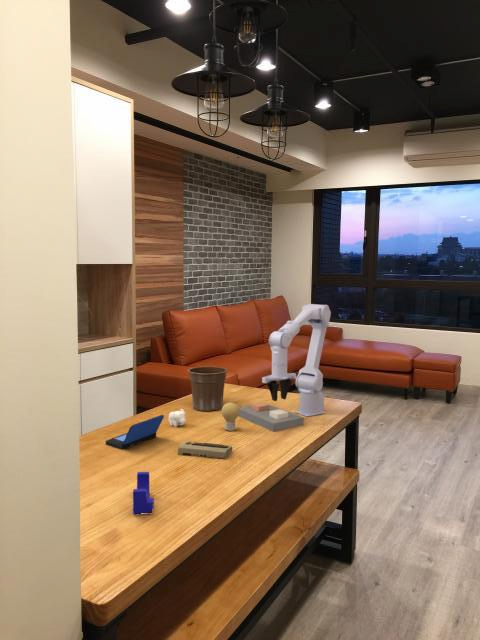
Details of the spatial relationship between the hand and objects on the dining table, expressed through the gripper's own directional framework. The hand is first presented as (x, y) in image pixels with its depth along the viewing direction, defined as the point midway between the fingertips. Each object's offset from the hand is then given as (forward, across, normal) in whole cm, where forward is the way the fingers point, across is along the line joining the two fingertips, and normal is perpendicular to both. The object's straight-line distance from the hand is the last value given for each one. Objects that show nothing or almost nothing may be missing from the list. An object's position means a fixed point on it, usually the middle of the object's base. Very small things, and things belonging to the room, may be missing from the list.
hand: (279, 399), depth 199 cm
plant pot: (+10, -11, +34) cm, 37 cm away
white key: (+8, 0, 0) cm, 8 cm away
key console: (+9, 0, +6) cm, 11 cm away
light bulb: (+10, -19, +4) cm, 22 cm away
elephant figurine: (+10, -33, +19) cm, 39 cm away
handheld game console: (+10, -53, +11) cm, 55 cm away
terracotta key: (+8, 0, +12) cm, 14 cm away
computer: (+10, -38, -11) cm, 41 cm away
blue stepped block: (+10, -69, -34) cm, 77 cm away
